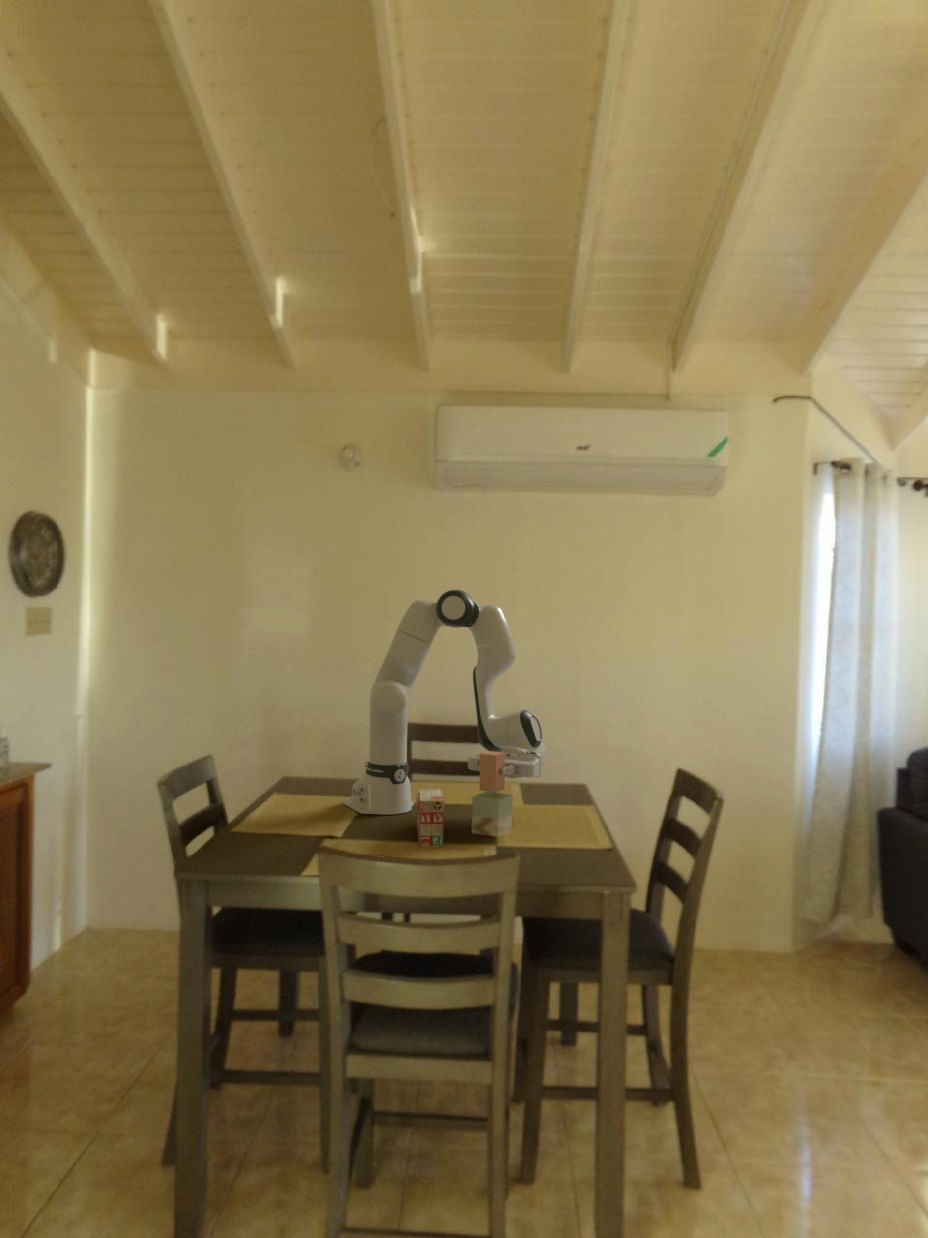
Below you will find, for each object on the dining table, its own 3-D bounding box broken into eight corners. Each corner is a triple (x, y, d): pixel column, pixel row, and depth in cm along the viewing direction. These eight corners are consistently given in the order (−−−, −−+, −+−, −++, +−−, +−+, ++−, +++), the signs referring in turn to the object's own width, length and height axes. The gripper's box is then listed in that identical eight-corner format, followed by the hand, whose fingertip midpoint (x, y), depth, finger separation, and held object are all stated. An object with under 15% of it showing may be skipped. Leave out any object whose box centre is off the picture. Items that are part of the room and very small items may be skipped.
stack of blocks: (416, 825, 260) (416, 781, 260) (438, 825, 261) (439, 781, 260) (419, 847, 239) (419, 799, 239) (443, 847, 240) (444, 799, 239)
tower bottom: (471, 833, 254) (471, 815, 253) (486, 827, 260) (486, 809, 260) (497, 837, 250) (497, 819, 249) (511, 831, 256) (511, 813, 256)
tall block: (479, 790, 253) (480, 753, 253) (488, 787, 258) (488, 751, 257) (495, 792, 251) (496, 755, 251) (504, 789, 255) (504, 752, 255)
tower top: (472, 815, 253) (472, 796, 253) (486, 809, 260) (486, 791, 260) (498, 819, 249) (498, 800, 249) (512, 813, 256) (512, 795, 256)
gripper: (481, 747, 270) (457, 754, 258) (546, 754, 260) (524, 762, 248) (481, 769, 271) (457, 777, 259) (545, 777, 261) (524, 786, 248)
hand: (490, 770), depth 253 cm, fingers closed on tall block, 5 cm apart
